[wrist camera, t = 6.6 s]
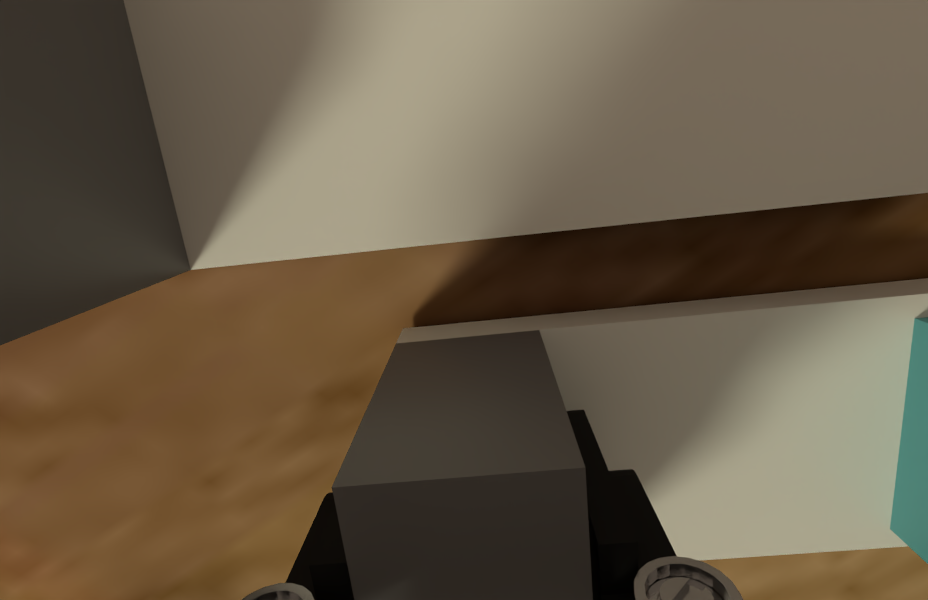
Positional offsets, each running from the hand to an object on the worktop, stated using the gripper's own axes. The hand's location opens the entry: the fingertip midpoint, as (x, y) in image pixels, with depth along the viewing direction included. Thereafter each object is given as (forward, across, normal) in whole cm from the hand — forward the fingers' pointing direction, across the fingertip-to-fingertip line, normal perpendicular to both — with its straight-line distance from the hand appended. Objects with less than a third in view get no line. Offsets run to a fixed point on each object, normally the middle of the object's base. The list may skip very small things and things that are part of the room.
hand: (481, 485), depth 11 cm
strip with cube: (+2, -8, 0) cm, 8 cm away
